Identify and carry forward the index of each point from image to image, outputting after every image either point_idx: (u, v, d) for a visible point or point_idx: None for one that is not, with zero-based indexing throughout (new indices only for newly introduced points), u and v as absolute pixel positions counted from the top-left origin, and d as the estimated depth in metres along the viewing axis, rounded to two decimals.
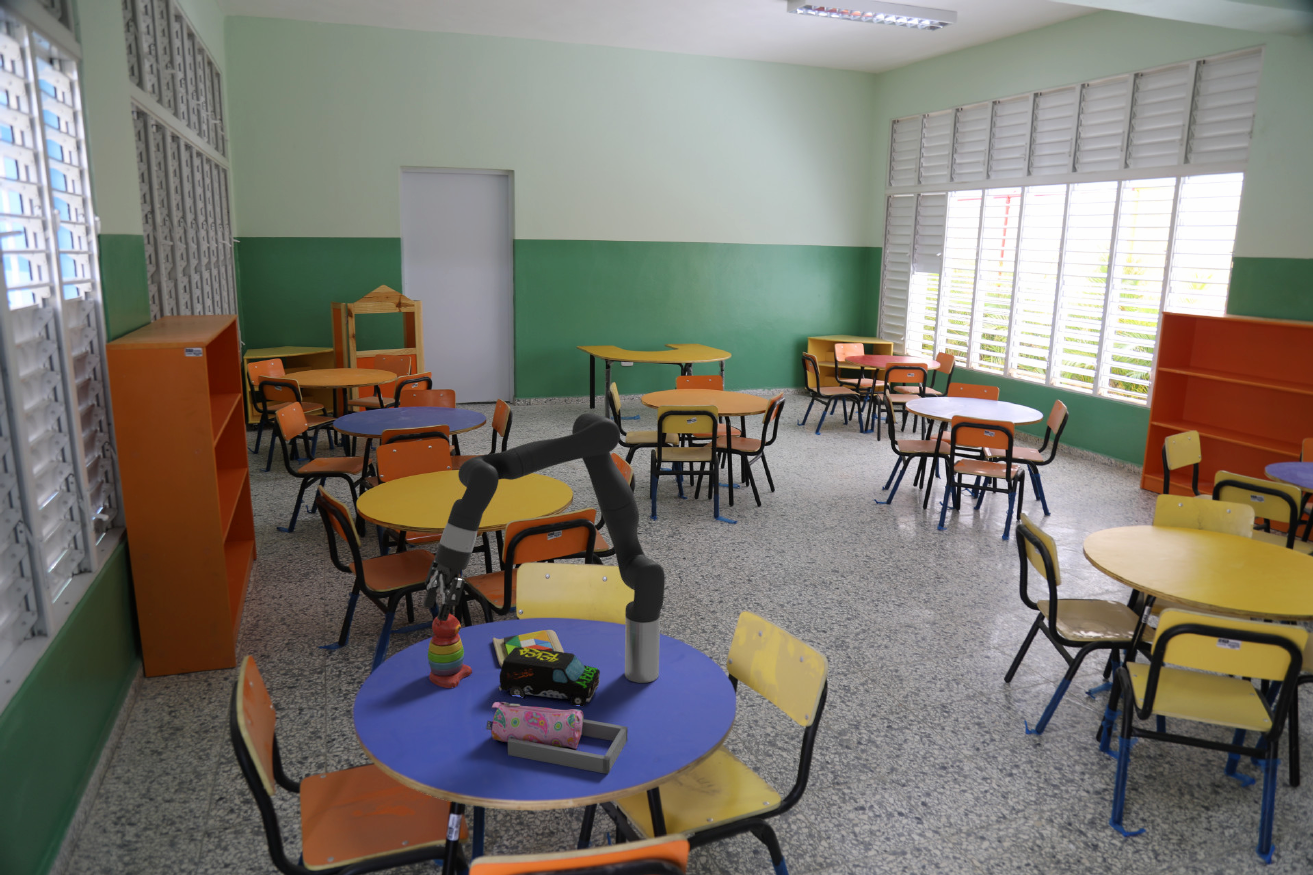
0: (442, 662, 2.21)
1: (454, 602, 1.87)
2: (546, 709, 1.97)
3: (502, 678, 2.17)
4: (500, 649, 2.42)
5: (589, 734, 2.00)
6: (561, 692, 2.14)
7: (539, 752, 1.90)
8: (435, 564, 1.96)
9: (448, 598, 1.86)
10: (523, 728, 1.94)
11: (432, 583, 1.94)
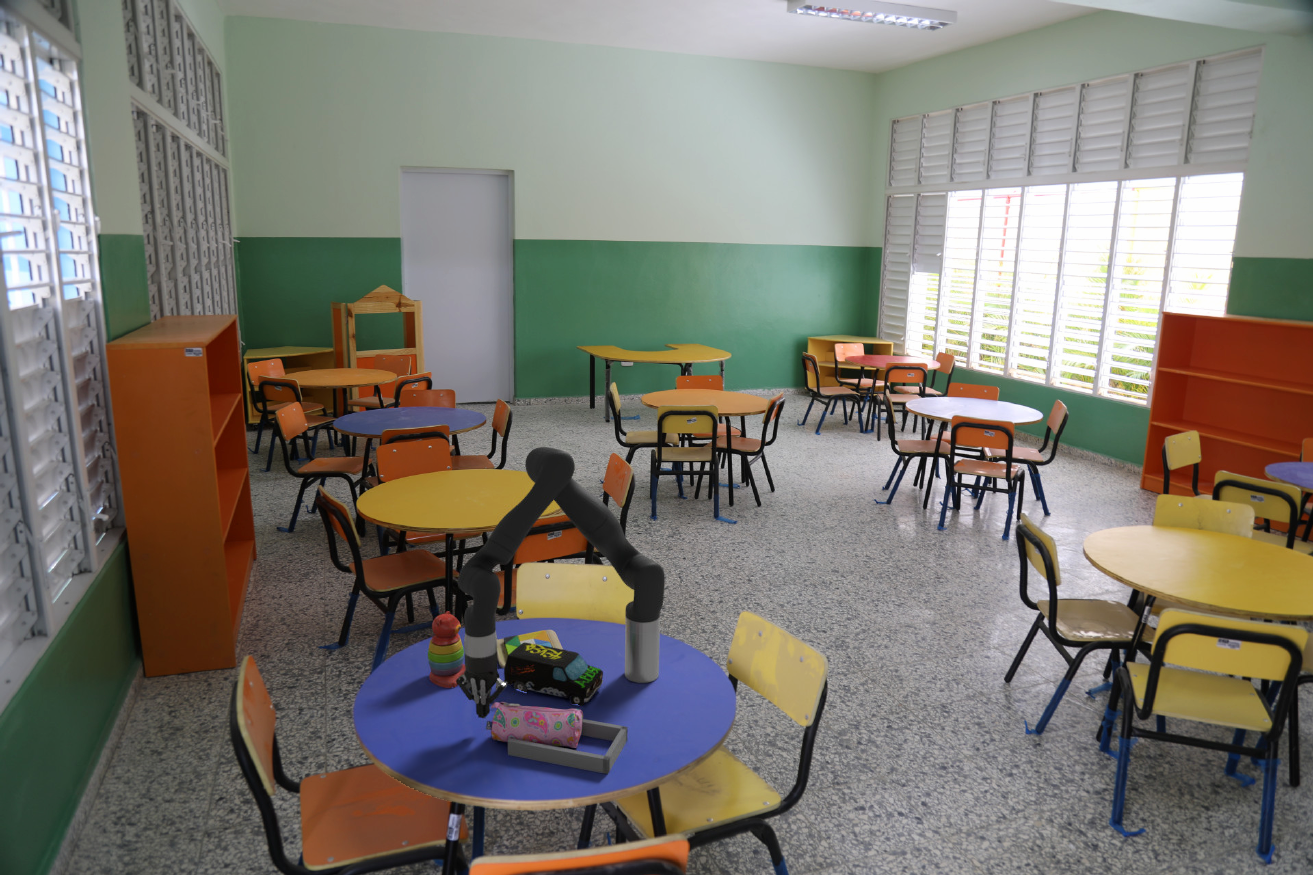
0: (442, 662, 2.21)
1: None
2: (546, 709, 1.98)
3: (506, 672, 2.20)
4: (500, 649, 2.42)
5: (589, 734, 2.00)
6: (561, 690, 2.15)
7: (539, 752, 1.90)
8: (461, 679, 2.00)
9: (491, 699, 1.98)
10: (523, 727, 1.94)
11: (477, 692, 1.98)
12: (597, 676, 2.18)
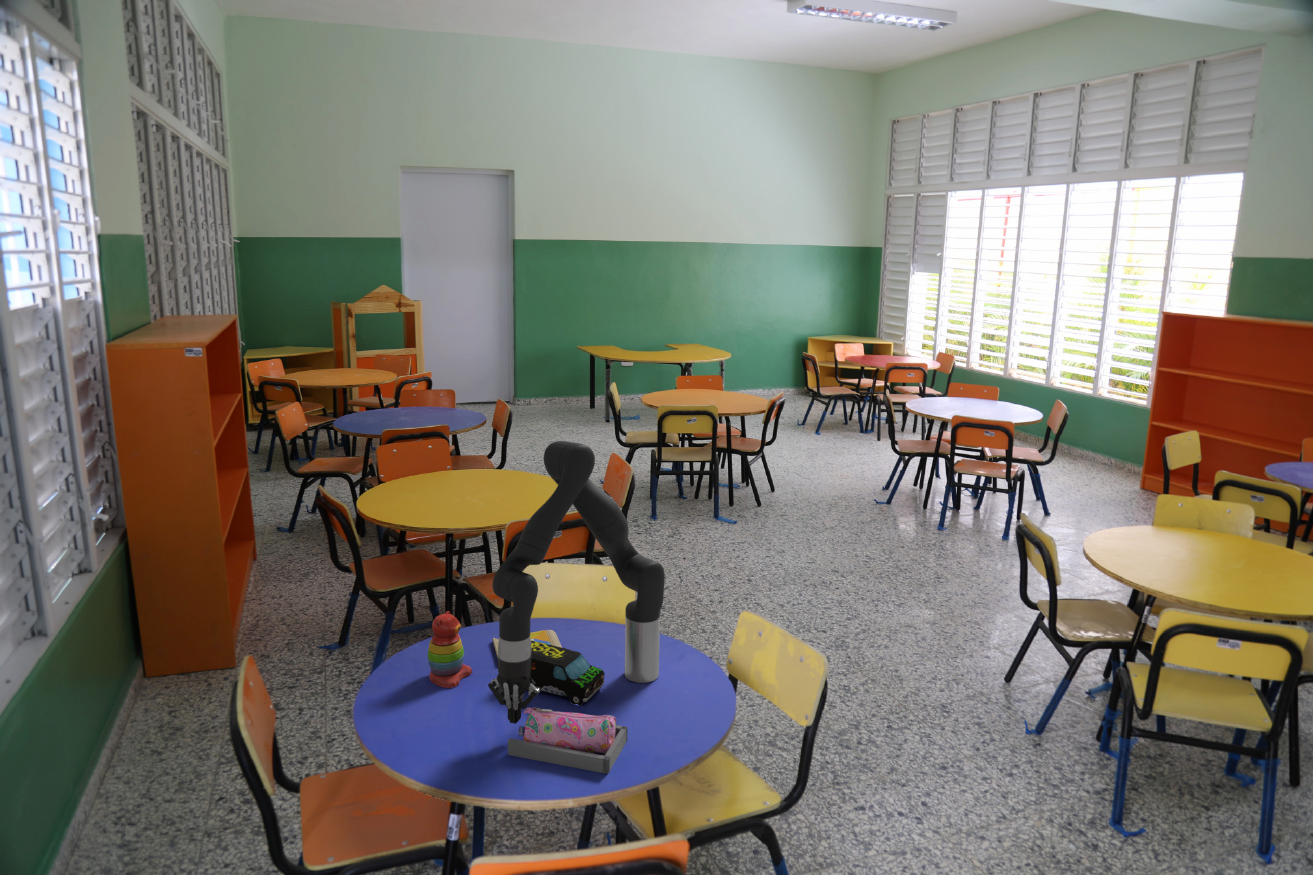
0: (442, 662, 2.21)
1: None
2: (579, 715, 1.95)
3: None
4: None
5: None
6: (561, 689, 2.15)
7: (539, 752, 1.90)
8: (493, 683, 1.97)
9: (524, 704, 1.95)
10: (556, 734, 1.91)
11: (510, 697, 1.96)
12: (598, 676, 2.17)
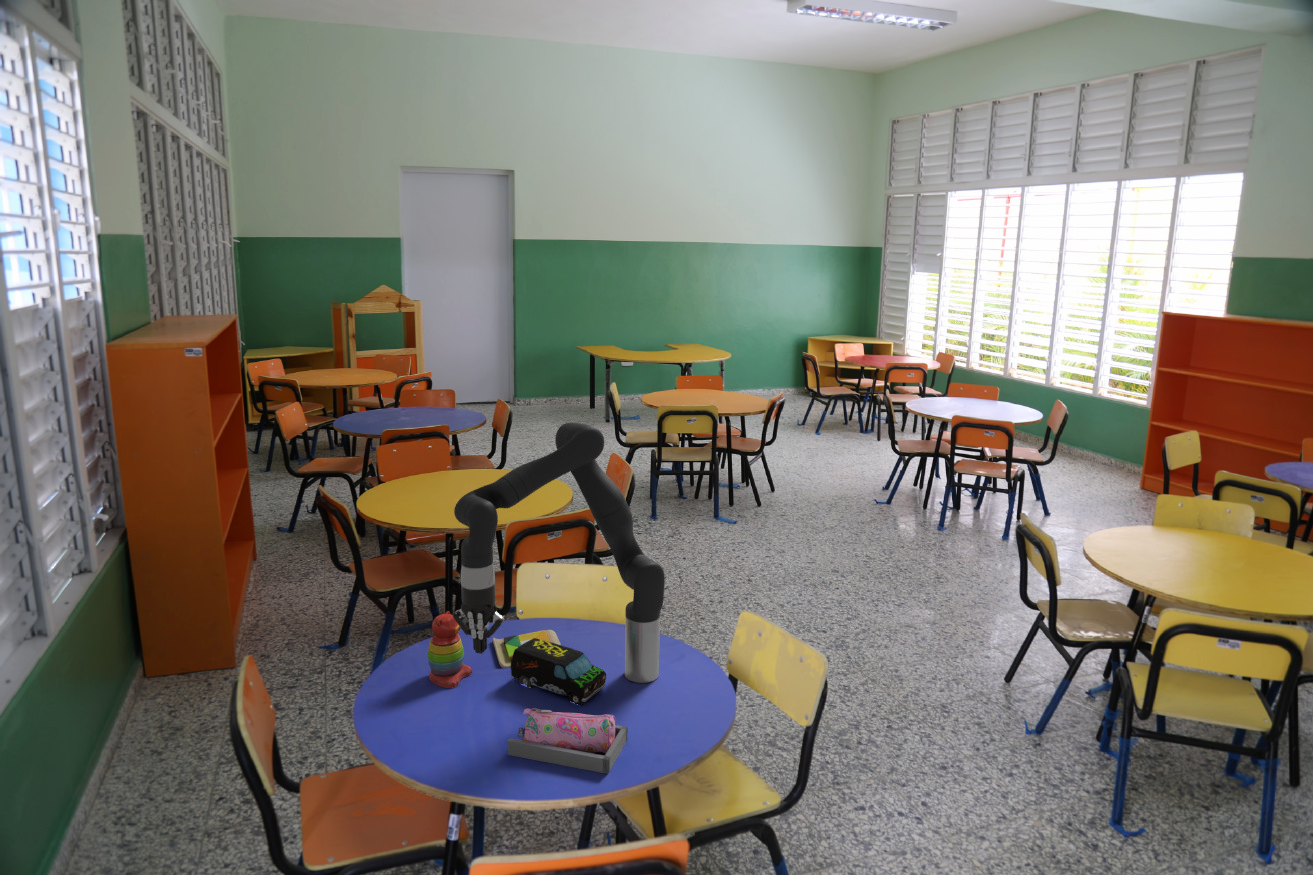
0: (442, 662, 2.21)
1: (492, 634, 1.96)
2: (578, 715, 1.95)
3: (512, 666, 2.24)
4: (500, 649, 2.42)
5: None
6: (561, 688, 2.16)
7: (539, 752, 1.90)
8: (457, 613, 1.96)
9: (489, 633, 1.94)
10: (556, 734, 1.92)
11: (474, 627, 1.95)
12: (598, 677, 2.17)
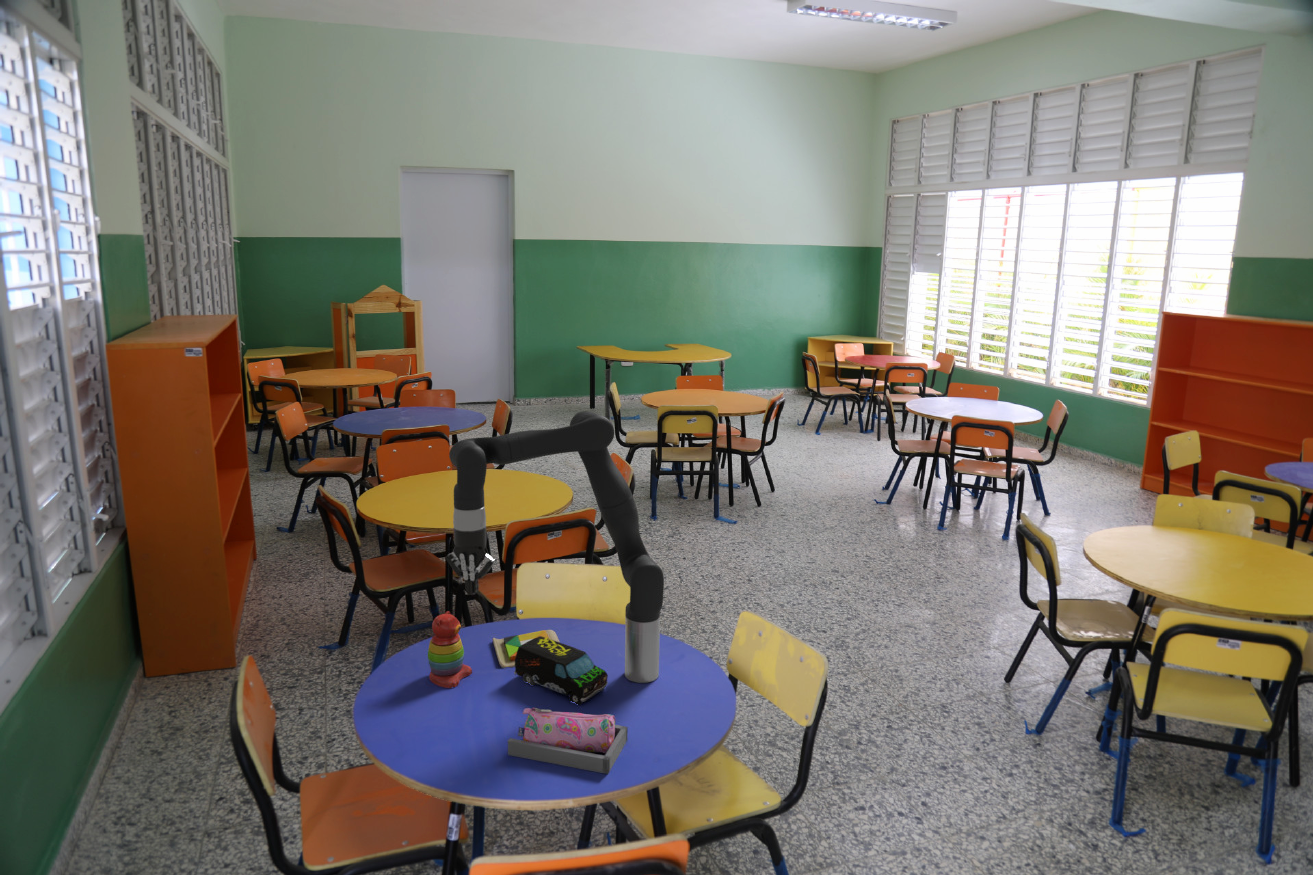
0: (442, 662, 2.21)
1: (483, 576, 2.03)
2: (578, 714, 1.95)
3: (516, 663, 2.25)
4: (500, 649, 2.42)
5: None
6: (561, 687, 2.16)
7: (539, 752, 1.90)
8: (450, 556, 2.03)
9: (480, 575, 2.01)
10: (555, 734, 1.92)
11: (466, 568, 2.02)
12: (599, 677, 2.17)
